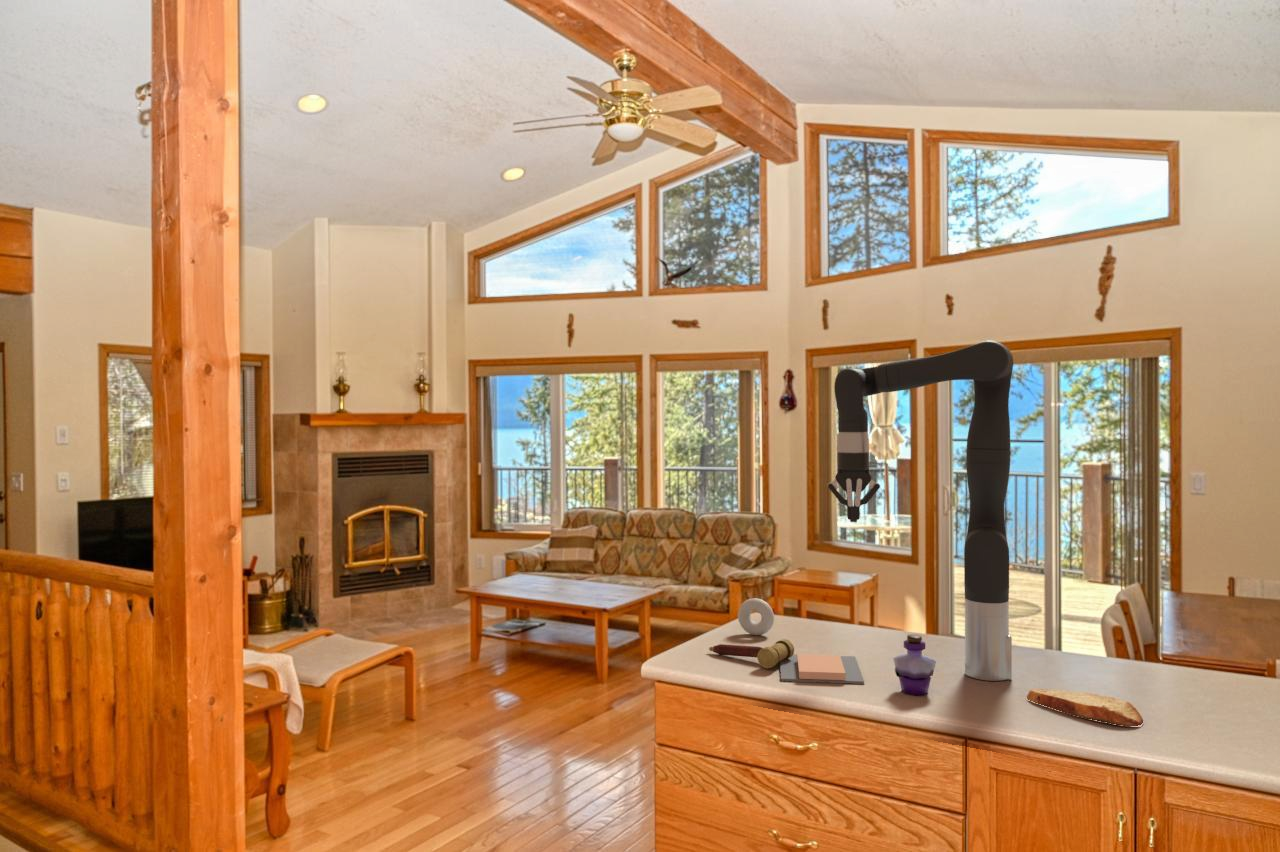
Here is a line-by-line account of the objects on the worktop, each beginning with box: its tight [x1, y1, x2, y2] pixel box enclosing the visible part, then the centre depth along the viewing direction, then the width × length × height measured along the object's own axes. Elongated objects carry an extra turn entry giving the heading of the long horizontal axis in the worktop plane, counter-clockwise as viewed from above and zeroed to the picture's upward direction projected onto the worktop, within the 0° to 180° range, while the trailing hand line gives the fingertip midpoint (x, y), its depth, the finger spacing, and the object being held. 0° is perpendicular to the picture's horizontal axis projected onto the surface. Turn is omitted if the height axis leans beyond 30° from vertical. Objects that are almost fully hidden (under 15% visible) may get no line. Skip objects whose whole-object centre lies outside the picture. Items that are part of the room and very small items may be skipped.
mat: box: [779, 653, 865, 685], centre depth 199 cm, size 18×20×1 cm
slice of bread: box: [1026, 688, 1144, 726], centre depth 170 cm, size 18×18×4 cm
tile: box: [796, 653, 846, 680], centre depth 196 cm, size 10×2×14 cm
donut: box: [737, 597, 775, 636], centre depth 231 cm, size 10×4×10 cm, turn 65°
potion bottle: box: [892, 634, 937, 697], centre depth 183 cm, size 9×9×12 cm
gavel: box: [708, 638, 795, 669], centre depth 208 cm, size 21×5×10 cm
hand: (853, 521), depth 210 cm, fingers closed
